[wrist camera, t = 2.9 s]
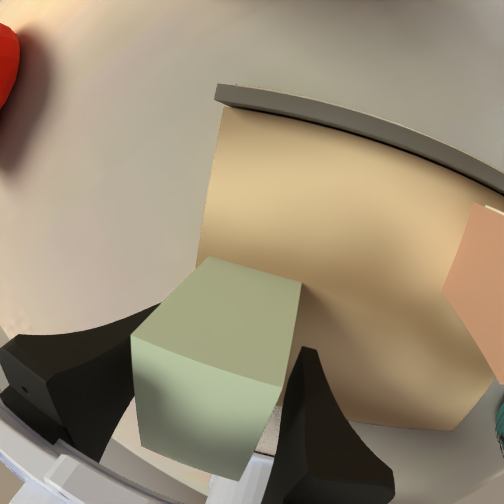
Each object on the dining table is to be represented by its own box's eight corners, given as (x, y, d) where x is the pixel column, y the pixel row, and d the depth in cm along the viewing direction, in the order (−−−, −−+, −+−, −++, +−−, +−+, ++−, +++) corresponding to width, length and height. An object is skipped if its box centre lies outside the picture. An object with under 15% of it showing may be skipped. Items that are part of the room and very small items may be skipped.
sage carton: (267, 383, 14) (238, 481, 9) (192, 359, 15) (139, 445, 9) (301, 282, 12) (282, 387, 6) (206, 255, 13) (127, 333, 7)
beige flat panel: (449, 420, 14) (456, 444, 12) (190, 364, 16) (174, 389, 14) (559, 215, 9) (583, 226, 7) (235, 91, 11) (218, 80, 9)
